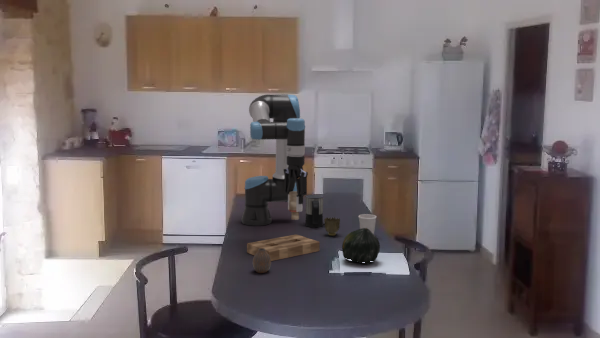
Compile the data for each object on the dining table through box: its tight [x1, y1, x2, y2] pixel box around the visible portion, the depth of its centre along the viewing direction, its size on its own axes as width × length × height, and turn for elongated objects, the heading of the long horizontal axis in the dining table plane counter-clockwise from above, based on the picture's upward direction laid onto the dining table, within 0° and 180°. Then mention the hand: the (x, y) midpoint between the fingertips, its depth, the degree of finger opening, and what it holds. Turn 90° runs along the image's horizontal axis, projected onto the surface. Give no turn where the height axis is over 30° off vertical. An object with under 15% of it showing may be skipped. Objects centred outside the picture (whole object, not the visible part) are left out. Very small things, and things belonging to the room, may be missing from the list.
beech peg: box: [288, 191, 300, 221], centre depth 265 cm, size 5×5×12 cm
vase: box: [252, 248, 272, 274], centre depth 236 cm, size 7×7×9 cm
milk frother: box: [304, 194, 325, 228], centre depth 311 cm, size 14×16×15 cm
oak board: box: [246, 233, 321, 262], centre depth 263 cm, size 16×26×4 cm, turn 128°
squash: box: [341, 228, 381, 265], centre depth 249 cm, size 14×15×15 cm
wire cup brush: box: [323, 216, 341, 237], centre depth 292 cm, size 8×7×8 cm
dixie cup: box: [357, 213, 377, 235], centre depth 289 cm, size 8×8×10 cm
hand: (295, 210), depth 265 cm, fingers closed on beech peg, 5 cm apart
